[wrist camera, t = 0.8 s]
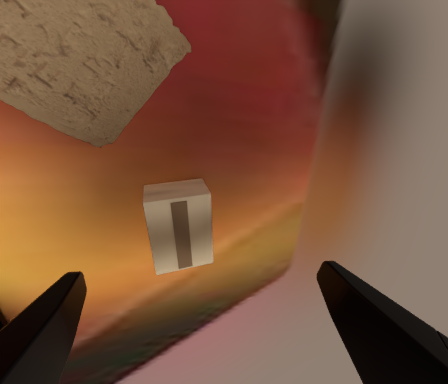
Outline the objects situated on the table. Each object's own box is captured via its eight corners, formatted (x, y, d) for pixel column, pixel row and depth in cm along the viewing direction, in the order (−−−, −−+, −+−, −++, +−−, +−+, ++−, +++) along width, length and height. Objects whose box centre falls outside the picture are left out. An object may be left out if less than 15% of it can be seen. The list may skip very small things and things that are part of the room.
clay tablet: (198, 53, 16) (206, 48, 14) (117, 159, 18) (112, 170, 15) (-66, -234, 9) (-139, -342, 7) (-164, -19, 11) (-254, -49, 8)
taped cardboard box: (205, 239, 23) (213, 263, 20) (155, 248, 22) (156, 276, 19) (201, 177, 20) (211, 194, 17) (143, 184, 19) (142, 203, 16)
